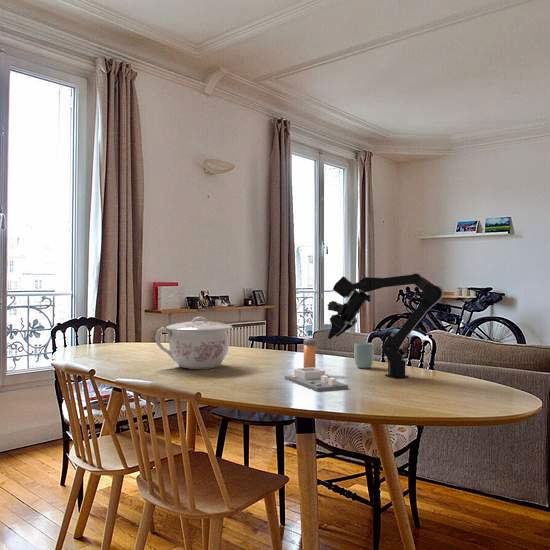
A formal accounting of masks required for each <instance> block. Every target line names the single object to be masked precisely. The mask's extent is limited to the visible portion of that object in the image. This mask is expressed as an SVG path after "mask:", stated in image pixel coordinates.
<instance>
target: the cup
mask: <svg viewBox="0 0 550 550" xmlns="http://www.w3.org/2000/svg"><path fill="white" fill-rule="evenodd" d="M374 346H375V345H374V343H372V342H365V341H364V342H354V346H353V347H354V348H353V350H354V351H353V354H354V363H355V366H356V367H357V368H359V369H370V368H371V367H372V365H373V363H374V356H375V355H374V348H375V347H374Z"/></svg>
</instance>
